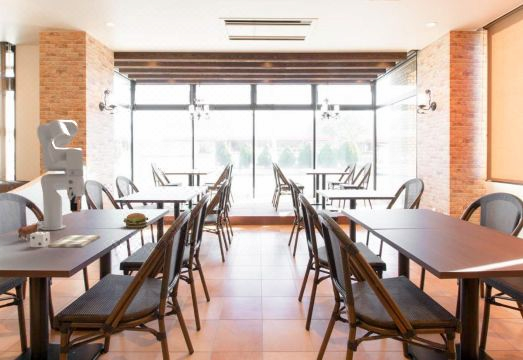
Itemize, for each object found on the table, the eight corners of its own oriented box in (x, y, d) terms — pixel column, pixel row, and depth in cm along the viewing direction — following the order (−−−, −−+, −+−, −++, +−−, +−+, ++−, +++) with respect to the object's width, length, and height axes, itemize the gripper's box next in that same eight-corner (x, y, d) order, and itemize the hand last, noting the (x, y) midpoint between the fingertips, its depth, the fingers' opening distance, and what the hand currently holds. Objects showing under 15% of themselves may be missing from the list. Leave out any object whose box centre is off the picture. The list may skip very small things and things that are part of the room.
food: (118, 227, 238) (118, 213, 237) (135, 223, 250) (135, 210, 249) (135, 229, 231) (135, 215, 231) (152, 225, 244) (152, 212, 243)
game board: (48, 246, 188) (48, 244, 188) (69, 237, 209) (69, 235, 209) (82, 247, 188) (82, 244, 188) (100, 237, 209) (100, 235, 209)
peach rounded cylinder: (70, 212, 196) (69, 195, 196) (73, 211, 200) (73, 194, 200) (78, 212, 196) (78, 195, 196) (82, 211, 200) (81, 194, 200)
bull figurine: (44, 237, 209) (44, 221, 208) (21, 242, 196) (21, 226, 196) (38, 236, 210) (37, 221, 210) (15, 242, 198) (14, 225, 197)
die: (30, 247, 187) (29, 234, 187) (37, 244, 193) (37, 231, 193) (43, 247, 187) (43, 234, 187) (50, 244, 193) (49, 231, 193)
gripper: (75, 174, 189) (76, 212, 190) (89, 172, 206) (90, 208, 207) (59, 174, 189) (60, 212, 190) (74, 172, 205) (75, 208, 206)
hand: (76, 209), depth 198 cm, fingers closed on peach rounded cylinder, 4 cm apart
